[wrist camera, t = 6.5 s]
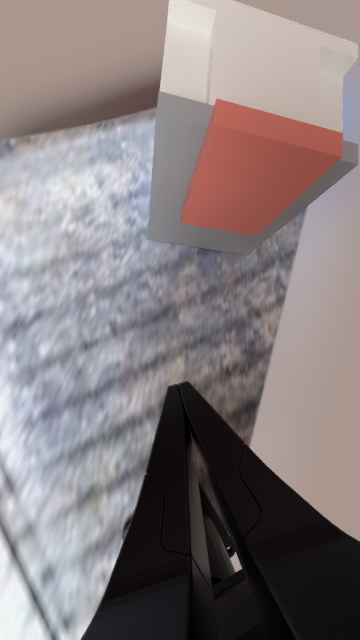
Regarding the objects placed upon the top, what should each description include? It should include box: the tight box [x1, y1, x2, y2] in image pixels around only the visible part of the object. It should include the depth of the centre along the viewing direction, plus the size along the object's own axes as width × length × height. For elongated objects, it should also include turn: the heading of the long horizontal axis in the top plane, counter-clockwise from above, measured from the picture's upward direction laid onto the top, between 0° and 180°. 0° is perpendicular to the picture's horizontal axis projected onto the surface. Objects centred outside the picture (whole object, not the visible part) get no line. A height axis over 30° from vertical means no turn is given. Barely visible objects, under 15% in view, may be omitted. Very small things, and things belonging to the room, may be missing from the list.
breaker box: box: [148, 0, 358, 255], centre depth 15 cm, size 6×9×11 cm
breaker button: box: [181, 98, 343, 236], centre depth 12 cm, size 8×5×6 cm, turn 175°
